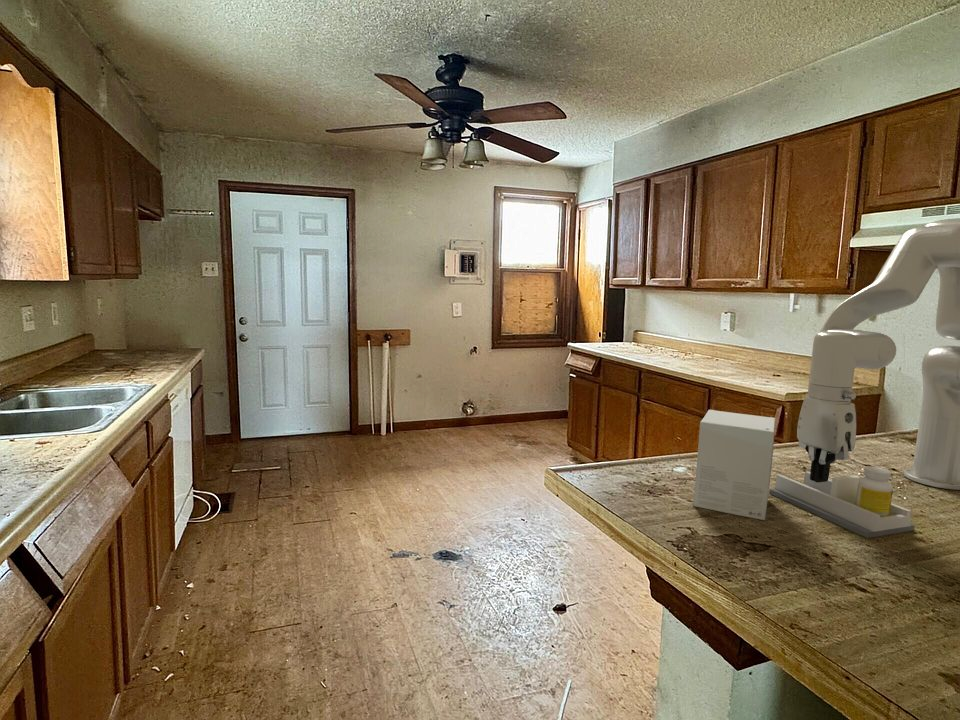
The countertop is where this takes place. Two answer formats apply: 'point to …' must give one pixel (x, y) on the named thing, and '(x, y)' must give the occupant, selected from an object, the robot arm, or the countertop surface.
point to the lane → (840, 508)
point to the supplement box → (734, 463)
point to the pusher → (845, 488)
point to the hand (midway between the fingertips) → (818, 480)
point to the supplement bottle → (875, 491)
